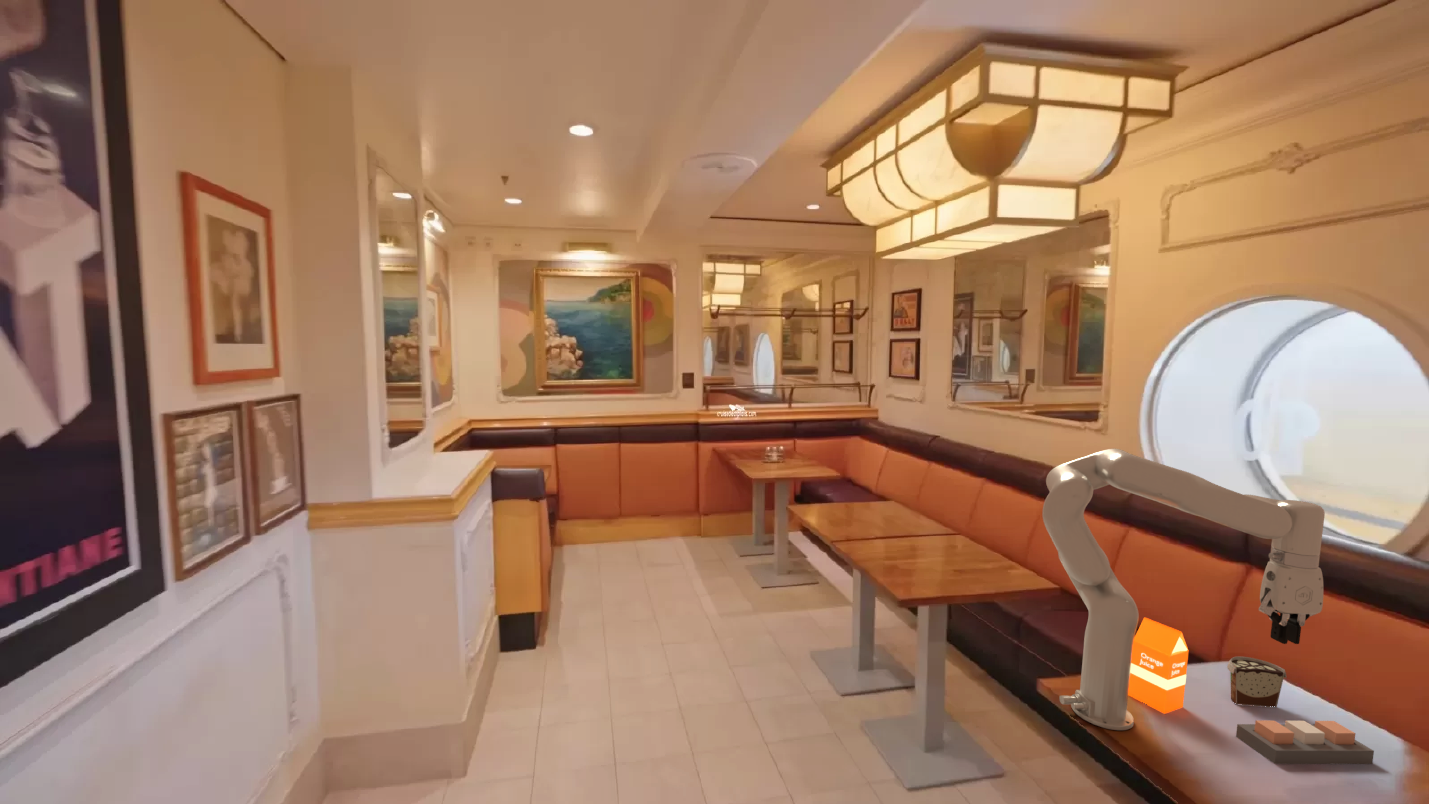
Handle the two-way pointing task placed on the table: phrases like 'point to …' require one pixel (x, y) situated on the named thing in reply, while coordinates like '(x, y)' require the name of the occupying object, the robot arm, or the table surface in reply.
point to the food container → (1255, 681)
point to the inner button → (1274, 732)
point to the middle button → (1305, 732)
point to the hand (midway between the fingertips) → (1284, 640)
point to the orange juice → (1158, 666)
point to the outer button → (1336, 732)
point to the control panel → (1305, 750)
